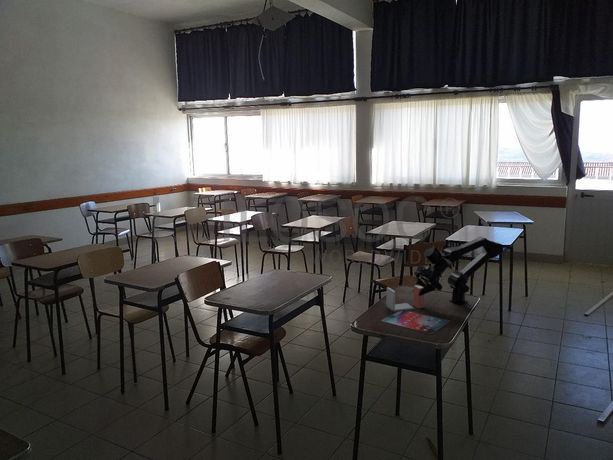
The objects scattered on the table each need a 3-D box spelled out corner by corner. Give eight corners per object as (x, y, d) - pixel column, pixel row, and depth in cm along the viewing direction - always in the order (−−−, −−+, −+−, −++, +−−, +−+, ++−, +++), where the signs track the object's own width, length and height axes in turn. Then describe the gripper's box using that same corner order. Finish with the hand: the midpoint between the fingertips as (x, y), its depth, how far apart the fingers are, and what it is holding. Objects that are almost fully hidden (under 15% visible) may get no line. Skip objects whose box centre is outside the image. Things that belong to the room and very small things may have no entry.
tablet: (400, 310, 228) (400, 308, 228) (450, 322, 213) (450, 320, 212) (379, 322, 214) (379, 320, 214) (432, 336, 198) (432, 334, 198)
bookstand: (406, 304, 234) (407, 285, 233) (413, 309, 228) (414, 289, 226) (386, 307, 231) (386, 287, 229) (392, 312, 225) (393, 291, 223)
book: (418, 304, 235) (419, 284, 233) (423, 307, 230) (424, 287, 228) (413, 305, 234) (413, 285, 232) (418, 308, 230) (418, 288, 228)
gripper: (417, 254, 238) (397, 278, 237) (437, 264, 220) (415, 289, 219) (431, 268, 241) (410, 291, 240) (451, 279, 224) (430, 303, 223)
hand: (416, 293), depth 231 cm, fingers closed on book, 5 cm apart
